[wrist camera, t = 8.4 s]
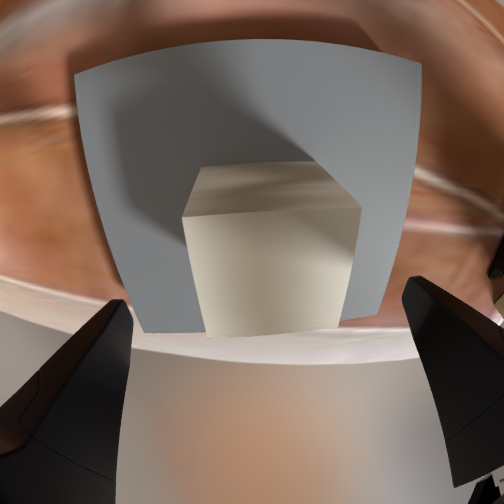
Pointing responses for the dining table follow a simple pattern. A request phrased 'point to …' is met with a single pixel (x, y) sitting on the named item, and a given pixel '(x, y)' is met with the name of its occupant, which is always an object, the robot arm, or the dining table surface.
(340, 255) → the cube
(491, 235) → the dining table surface
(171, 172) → the base board
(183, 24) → the dining table surface
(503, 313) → the box
